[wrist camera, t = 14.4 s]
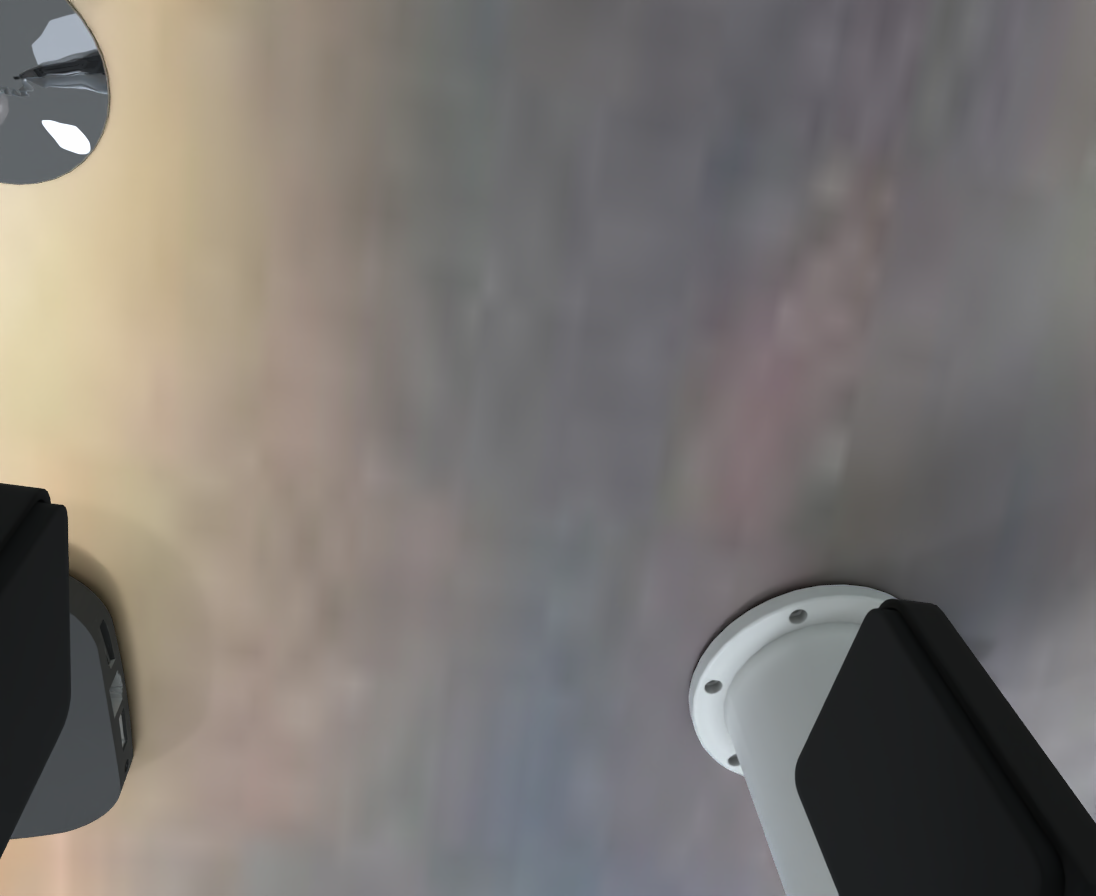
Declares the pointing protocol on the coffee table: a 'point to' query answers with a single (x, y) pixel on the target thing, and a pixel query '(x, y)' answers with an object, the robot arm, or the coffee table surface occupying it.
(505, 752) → the coffee table surface
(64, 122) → the wine glass
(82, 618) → the media streaming box
